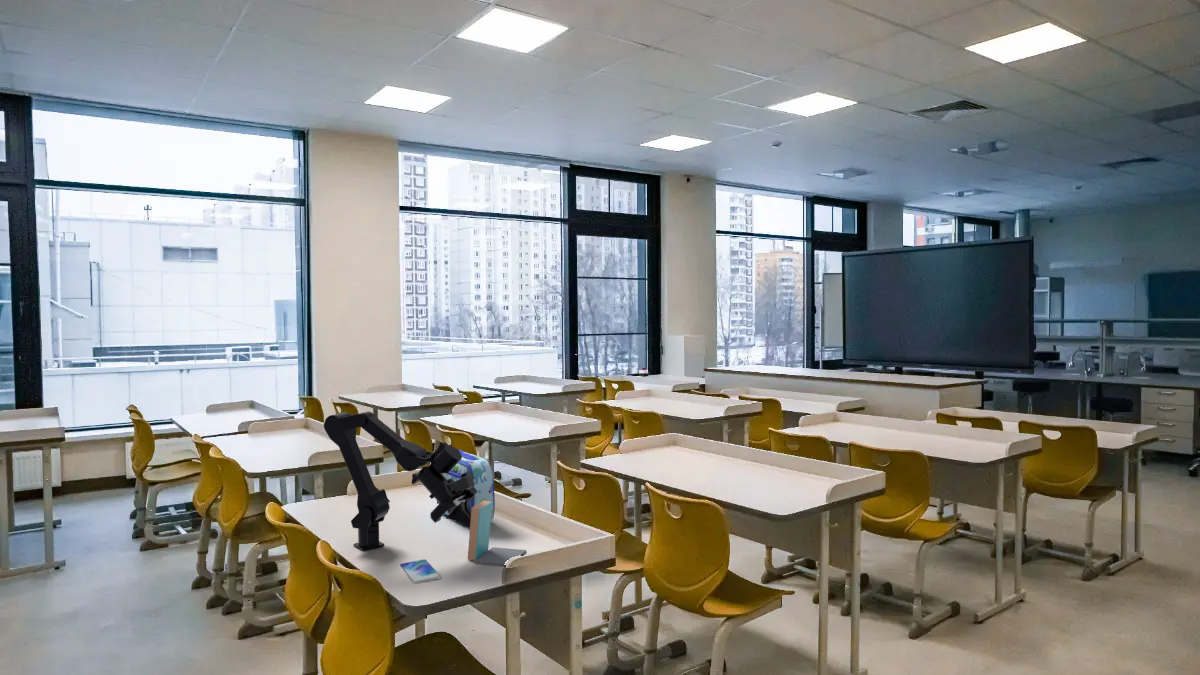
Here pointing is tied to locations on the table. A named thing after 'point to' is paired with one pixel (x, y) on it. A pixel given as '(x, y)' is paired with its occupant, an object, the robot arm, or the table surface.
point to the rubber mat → (498, 556)
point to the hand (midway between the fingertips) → (475, 526)
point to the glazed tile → (479, 530)
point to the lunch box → (481, 480)
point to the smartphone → (420, 571)
